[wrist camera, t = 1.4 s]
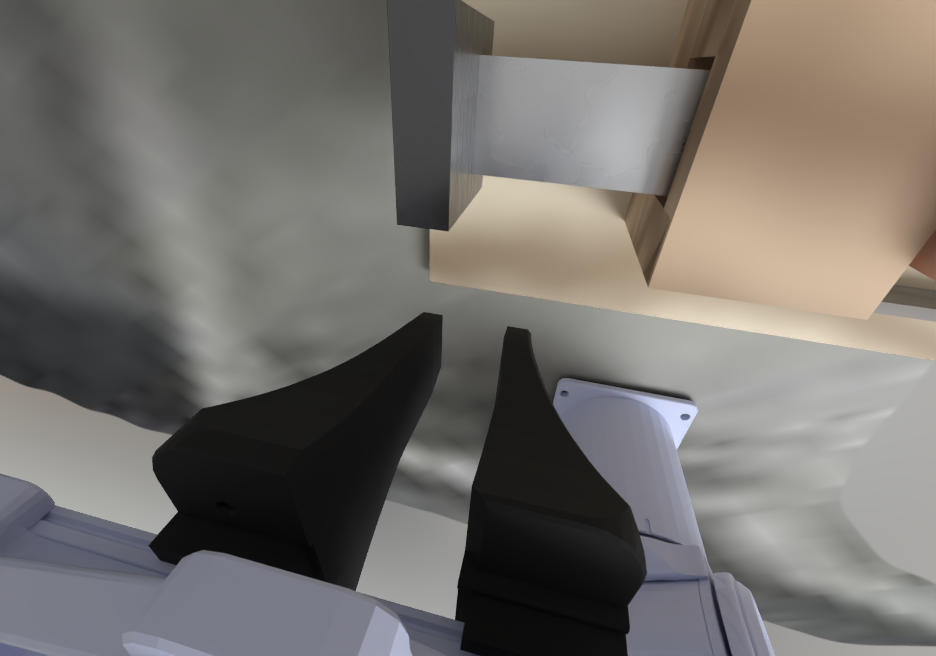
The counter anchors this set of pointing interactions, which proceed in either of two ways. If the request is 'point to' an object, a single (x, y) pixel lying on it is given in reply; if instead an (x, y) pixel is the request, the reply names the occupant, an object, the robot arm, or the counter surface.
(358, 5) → the counter surface
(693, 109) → the shaft
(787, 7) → the stand
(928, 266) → the block
